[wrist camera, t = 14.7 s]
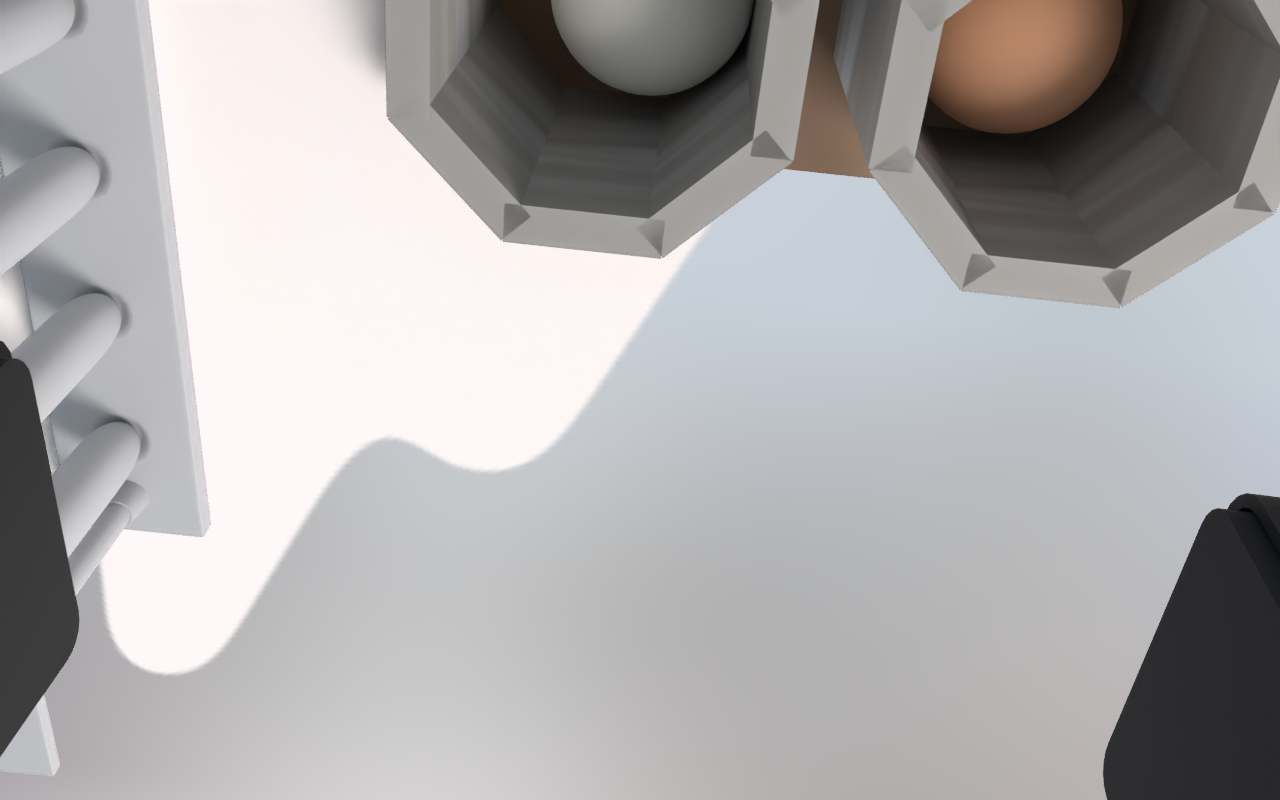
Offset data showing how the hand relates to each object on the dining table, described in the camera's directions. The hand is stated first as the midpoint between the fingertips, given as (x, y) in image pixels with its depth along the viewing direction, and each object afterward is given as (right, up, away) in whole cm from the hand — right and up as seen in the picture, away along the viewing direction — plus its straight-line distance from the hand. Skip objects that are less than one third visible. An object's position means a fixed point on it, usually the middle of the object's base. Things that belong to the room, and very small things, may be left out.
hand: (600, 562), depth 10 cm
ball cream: (+1, +10, +17) cm, 20 cm away
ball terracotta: (+9, +10, +17) cm, 21 cm away
